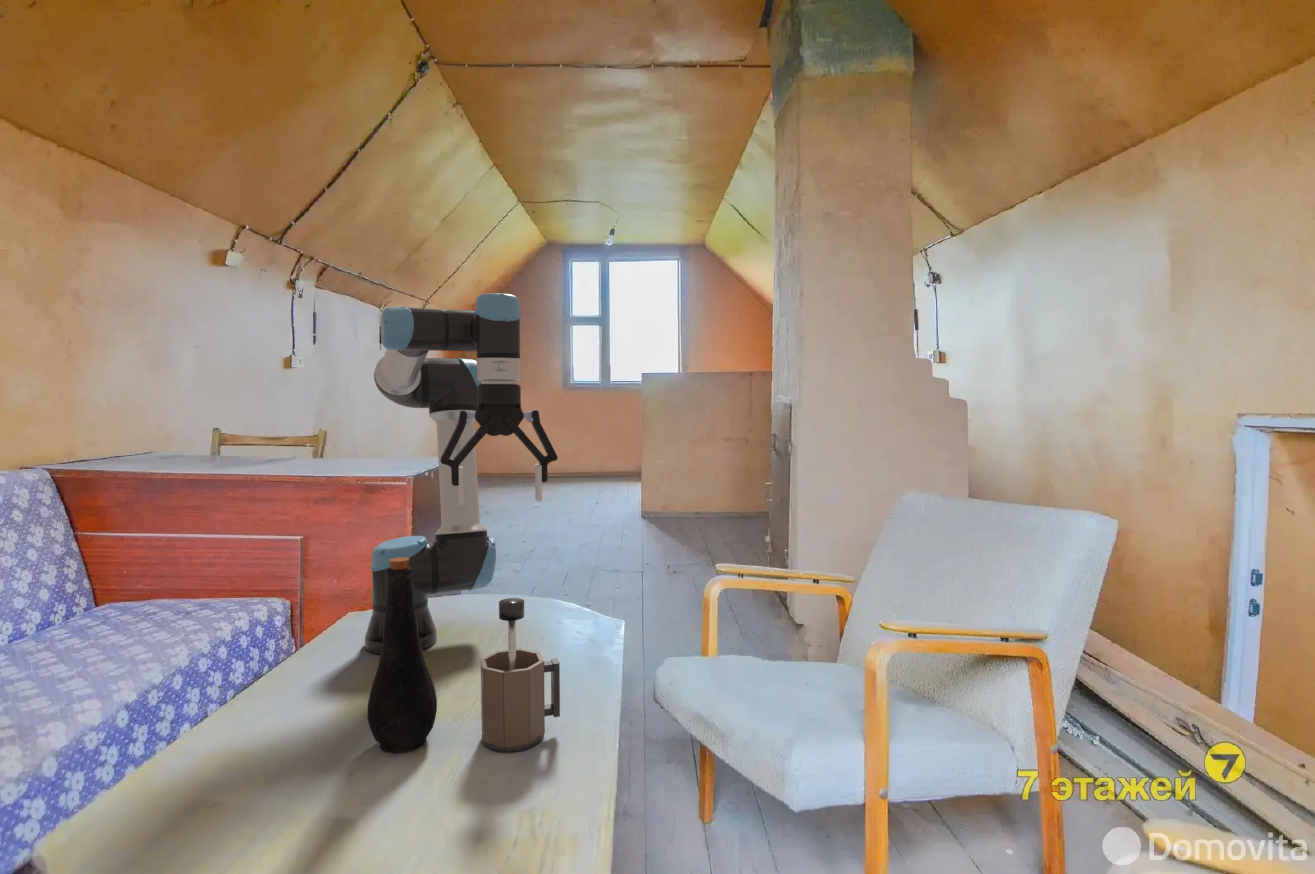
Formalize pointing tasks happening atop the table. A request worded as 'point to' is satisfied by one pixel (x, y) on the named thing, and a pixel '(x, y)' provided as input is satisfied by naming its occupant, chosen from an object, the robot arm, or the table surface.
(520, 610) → the plunger
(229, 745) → the table surface
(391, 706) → the bottle
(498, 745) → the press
